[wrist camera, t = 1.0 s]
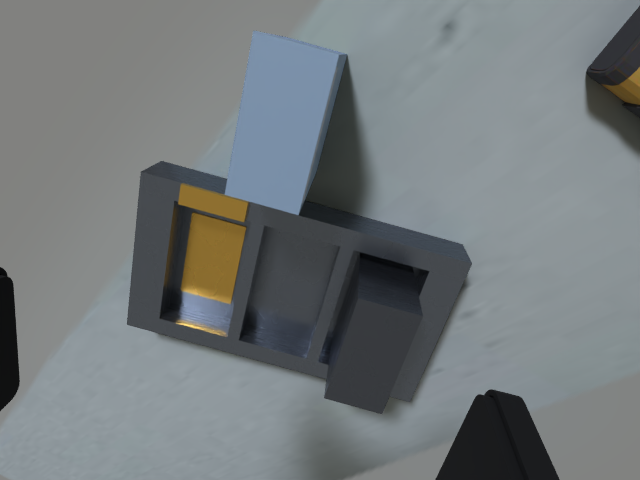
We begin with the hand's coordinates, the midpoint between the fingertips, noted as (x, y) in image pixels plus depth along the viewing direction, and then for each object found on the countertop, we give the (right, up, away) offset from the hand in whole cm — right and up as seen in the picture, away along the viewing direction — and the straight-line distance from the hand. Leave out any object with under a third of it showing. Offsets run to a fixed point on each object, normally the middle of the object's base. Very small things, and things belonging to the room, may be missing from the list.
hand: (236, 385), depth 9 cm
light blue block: (+1, +11, +17) cm, 20 cm away
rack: (0, 0, +22) cm, 22 cm away
